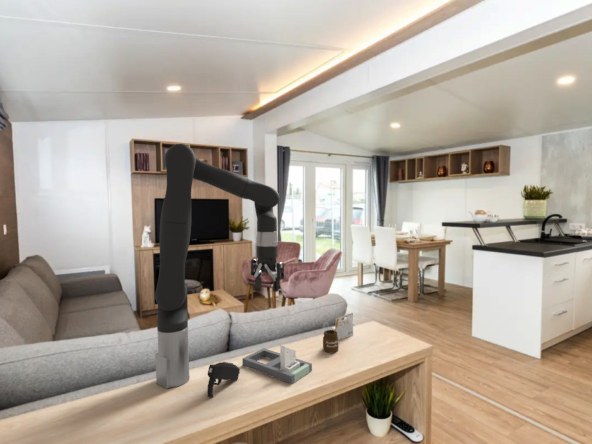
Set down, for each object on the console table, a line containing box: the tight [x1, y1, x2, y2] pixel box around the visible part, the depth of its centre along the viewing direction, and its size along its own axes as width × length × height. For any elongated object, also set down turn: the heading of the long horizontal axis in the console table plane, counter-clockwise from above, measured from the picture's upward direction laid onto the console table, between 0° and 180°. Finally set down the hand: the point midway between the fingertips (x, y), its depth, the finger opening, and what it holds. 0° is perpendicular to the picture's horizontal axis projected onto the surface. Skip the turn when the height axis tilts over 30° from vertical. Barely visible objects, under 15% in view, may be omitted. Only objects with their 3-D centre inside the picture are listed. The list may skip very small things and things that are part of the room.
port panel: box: [242, 347, 313, 385], centre depth 122 cm, size 11×22×2 cm, turn 52°
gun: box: [206, 361, 241, 399], centre depth 110 cm, size 3×16×10 cm, turn 156°
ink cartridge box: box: [331, 312, 354, 341], centre depth 150 cm, size 2×11×10 cm, turn 130°
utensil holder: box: [322, 317, 339, 354], centre depth 137 cm, size 6×6×12 cm
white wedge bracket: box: [279, 345, 300, 373], centre depth 118 cm, size 4×10×9 cm, turn 142°
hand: (267, 289), depth 126 cm, fingers open, 8 cm apart
